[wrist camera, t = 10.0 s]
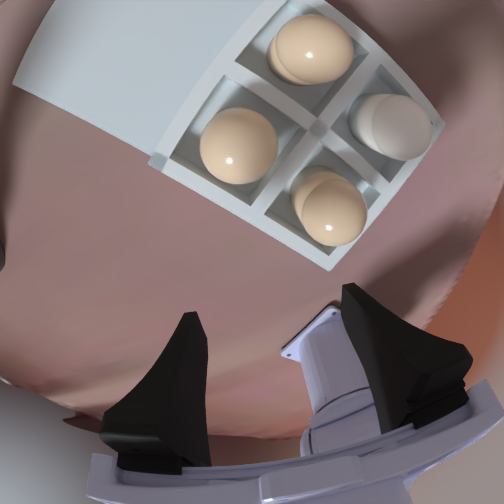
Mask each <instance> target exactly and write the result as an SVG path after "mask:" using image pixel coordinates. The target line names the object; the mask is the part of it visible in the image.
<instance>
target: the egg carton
mask: <svg viewBox="0 0 504 504" xmlns="http://www.w3.org/2000/svg"><path fill="white" fill-rule="evenodd" d="M307 14H315V15H321V16H325V17H328V18H330V19H332V20H334V21H335V22H337V23H338V24H340V25H341V26H342V27H343V28H344V29H345V30H346V32H347V33H348V35H349V36H350V38H351V41H352V44H353V50H354V53H353V60H352V63H351V65H350V67H349V68H348V70H347V71H346V72H345V73H344V74H343V75H342V76H341V77H339V78H338V79H336V80H334V81H331V82H327V83H322V84H314V85H308V86H294V85H290V84H287V83H285V82H283V81H281V80H280V79H278V78H277V77H276V76H275V75H274V74H273V73H272V71H271V70H270V68H269V66H268V63H267V59H266V52H267V47H268V45H269V43H270V41H271V40H272V39H273V37H274V36H275V35H276V34H277V32H278V31H279V30H280V29H281V27H282V26H283V25H284V24H285V23H286V22H288V21H289V20H291V19H293V18H295V17H298V16H301V15H307ZM12 84H13V85H15V86H17V87H19V88H21V89H23V90H25V91H28V92H30V93H32V94H34V95H36V96H38V97H40V98H42V99H44V100H46V101H48V102H50V103H52V104H54V105H56V106H58V107H60V108H62V109H64V110H66V111H68V112H70V113H72V114H74V115H76V116H78V117H80V118H81V119H83V120H85V121H87V122H89V123H91V124H93V125H95V126H97V127H99V128H101V129H102V130H104V131H106V132H108V133H110V134H112V135H114V136H116V137H117V138H119V139H121V140H123V141H125V142H127V143H128V144H130V145H132V146H134V147H136V148H138V149H139V150H141V151H143V152H145V153H147V154H148V155H150V156H152V157H151V158H150V160H149V162H148V165H150V166H151V167H153V168H155V169H157V170H159V171H160V172H162V173H164V174H166V175H167V176H169V177H171V178H173V179H174V180H176V181H178V182H180V183H182V184H183V185H185V186H187V187H189V188H190V189H192V190H194V191H195V192H197V193H199V194H201V195H202V196H204V197H206V198H208V199H209V200H211V201H213V202H215V203H216V204H218V205H220V206H221V207H223V208H225V209H226V210H228V211H230V212H232V213H233V214H235V215H237V216H238V217H240V218H242V219H243V220H245V221H247V222H249V223H250V224H252V225H254V226H255V227H257V228H259V229H260V230H262V231H264V232H265V233H267V234H269V235H270V236H272V237H274V238H275V239H277V240H279V241H280V242H282V243H284V244H285V245H287V246H288V247H290V248H292V249H293V250H295V251H297V252H298V253H300V254H302V255H303V256H305V257H306V258H308V259H310V260H311V261H313V262H315V263H316V264H318V265H319V266H321V267H323V268H324V269H326V270H328V271H330V270H331V269H332V268H333V267H334V266H335V265H336V264H337V263H338V261H339V260H340V259H341V258H342V257H343V256H344V255H345V254H346V252H347V251H348V250H349V249H350V248H351V247H352V246H353V244H354V243H355V242H356V241H357V240H358V239H359V238H360V236H361V235H362V234H363V233H364V232H365V230H366V229H367V228H368V227H369V226H370V225H371V223H372V222H373V221H374V220H375V219H376V217H377V216H378V215H379V214H380V212H381V211H382V210H383V209H384V208H385V206H386V205H387V204H388V203H389V201H390V200H391V199H392V198H393V196H394V195H395V194H396V193H397V191H398V190H399V189H400V187H401V186H402V185H403V184H404V182H405V181H406V180H407V178H408V177H409V176H410V174H411V173H412V172H413V170H414V169H415V168H416V166H417V165H418V164H419V162H420V161H421V160H422V158H423V157H424V156H425V154H426V153H427V151H428V150H429V149H430V147H431V146H432V145H433V143H434V142H435V140H436V139H437V137H438V136H439V135H440V133H441V132H442V130H443V129H444V127H445V126H446V123H445V122H444V120H443V119H442V118H441V116H440V115H439V113H438V112H437V111H436V109H435V108H434V107H433V105H432V104H431V103H430V102H429V100H428V99H427V98H426V96H425V95H424V94H423V93H422V92H421V90H420V89H419V88H418V87H417V86H416V84H415V83H414V82H413V81H412V80H411V79H410V77H409V76H408V75H407V74H406V73H405V72H404V71H403V70H402V69H401V67H400V66H399V65H398V64H397V63H396V62H395V61H394V60H393V59H392V58H391V57H390V56H389V55H388V54H387V53H386V52H385V51H384V50H383V49H382V48H381V47H380V46H379V45H378V44H377V43H376V42H375V41H374V40H372V39H371V38H370V37H369V36H368V35H367V34H366V33H365V32H364V31H362V30H361V29H360V28H359V27H358V26H357V25H355V24H354V23H353V22H352V21H351V20H349V19H348V18H347V17H346V16H344V15H343V14H342V13H341V12H339V11H338V10H337V9H335V8H334V7H333V6H331V5H330V4H329V3H327V2H326V1H325V0H55V2H54V3H53V5H52V6H51V8H50V9H49V11H48V12H47V14H46V16H45V17H44V19H43V21H42V22H41V24H40V26H39V28H38V29H37V31H36V33H35V35H34V37H33V39H32V41H31V43H30V45H29V47H28V49H27V51H26V53H25V55H24V57H23V59H22V61H21V64H20V66H19V68H18V70H17V73H16V75H15V78H14V80H13V83H12ZM367 93H379V94H395V95H403V96H407V97H409V98H411V99H413V100H415V101H416V102H418V103H419V104H420V105H421V106H422V107H423V108H424V109H425V111H426V112H427V114H428V116H429V118H430V121H431V124H432V138H431V142H430V145H429V147H428V148H427V150H426V151H425V152H424V153H423V154H422V155H420V156H419V157H417V158H415V159H412V160H407V161H402V160H396V159H392V158H390V157H388V156H386V155H383V154H381V153H379V152H377V151H374V150H372V149H370V148H367V147H365V146H363V145H361V144H360V143H358V142H357V141H356V140H355V138H354V137H353V136H352V134H351V132H350V129H349V126H348V112H349V109H350V106H351V105H352V103H353V102H354V100H355V99H357V98H358V97H359V96H361V95H363V94H367ZM231 107H243V108H247V109H251V110H253V111H256V112H258V113H260V114H261V115H263V116H264V117H265V118H266V119H267V120H268V121H269V122H270V123H271V124H272V126H273V127H274V129H275V131H276V134H277V137H278V143H279V148H278V155H277V158H276V161H275V163H274V165H273V166H272V168H271V169H270V170H269V171H268V173H266V174H265V175H264V176H263V177H261V178H260V179H258V180H256V181H254V182H251V183H247V184H230V183H226V182H224V181H221V180H219V179H218V178H216V177H215V176H213V175H212V174H211V173H210V172H209V171H208V169H207V168H206V167H205V165H204V163H203V161H202V158H201V155H200V138H201V135H202V132H203V130H204V128H205V126H206V125H207V124H208V122H209V121H210V120H211V119H212V118H213V117H214V116H215V115H216V114H217V113H219V112H220V111H222V110H224V109H227V108H231ZM315 165H322V166H327V167H329V168H331V169H333V170H334V171H336V172H337V173H338V174H340V175H341V176H342V177H344V178H345V179H346V180H348V181H349V182H350V183H352V184H353V185H354V186H355V187H356V188H357V189H358V190H359V191H360V192H361V193H362V195H363V197H364V199H365V201H366V204H367V212H368V214H367V222H366V225H365V227H364V229H363V231H362V232H361V234H360V235H359V236H358V237H357V238H356V239H355V240H353V241H352V242H350V243H348V244H346V245H342V246H327V245H324V244H321V243H319V242H317V241H316V240H314V239H313V238H312V237H311V236H310V235H309V234H308V232H307V231H306V230H305V228H304V226H303V224H302V223H301V221H300V219H299V217H298V216H297V214H296V212H295V210H294V209H293V207H292V205H291V202H290V198H289V191H290V186H291V184H292V182H293V180H294V178H295V177H296V176H297V174H299V173H300V172H301V171H302V170H304V169H306V168H308V167H310V166H315Z"/></svg>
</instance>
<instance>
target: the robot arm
mask: <svg viewBox="0 0 504 504" xmlns="http://www.w3.org/2000/svg"><path fill="white" fill-rule="evenodd" d="M333 312H334V313H333ZM280 353H281V356H283V357H286V358H289V359H292V360H295V361H298V362H301V365H302V369H303V373H304V377H305V381H306V385H307V389H308V393H309V397H310V401H311V405H312V409H313V413H314V416H311V417H309V422H310V426H311V427H309V428H307V429H305V431H304V433H303V436H302V438H301V441H300V451H301V457H297V458H292V459H286V460H279V461H273V462H265V463H257V464H248V465H236V466H220V467H212V465H211V458H210V452H209V444H208V435H207V424H206V408H205V392H206V378H207V365H208V345H207V337H206V335H205V332H204V330H203V327H202V325H201V322H200V319H199V317H198V314H197V312H196V311H194V312H187V313H184V314H183V316H182V318H181V320H180V322H179V324H178V326H177V328H176V329H175V331H174V333H173V335H172V337H171V338H170V340H169V342H168V344H167V345H166V347H165V349H164V350H163V352H162V353H161V355H160V356H159V358H158V359H157V361H156V362H155V364H154V365H153V366H152V368H151V369H150V370H149V372H148V373H147V374H146V375H145V376H144V378H143V379H142V380H141V381H140V382H139V383H138V384H137V385H136V386H135V387H134V388H133V389H132V390H131V391H130V392H129V393H128V394H127V395H126V396H125V397H124V398H123V399H121V400H120V401H119V402H118V403H116V404H115V405H114V406H112V407H111V408H110V409H108V410H107V411H106V412H105V413H104V416H103V419H102V424H101V429H100V434H99V437H100V439H101V440H102V441H103V442H104V443H105V444H107V445H108V446H109V447H111V448H112V449H114V450H115V451H117V452H118V458H116V457H113V456H108V455H103V454H97V453H93V454H92V458H91V464H90V470H89V477H88V484H87V491H86V495H87V496H88V497H90V498H93V499H96V500H98V501H101V502H104V503H107V504H413V503H412V500H411V497H410V494H409V491H408V490H409V488H410V487H411V485H412V484H413V483H414V482H415V480H416V479H417V477H418V476H419V475H420V473H422V472H424V471H426V470H428V469H430V468H432V467H434V466H436V465H437V464H439V463H441V462H443V461H445V460H446V459H448V458H450V457H451V456H453V455H455V454H456V453H458V452H460V451H461V450H463V449H465V448H466V447H468V446H469V445H471V444H472V443H474V442H475V441H477V440H478V439H480V438H481V437H482V436H484V435H485V434H486V433H487V432H489V431H490V430H491V429H492V428H493V427H494V426H495V425H496V424H498V422H500V421H501V420H502V419H503V418H504V409H503V407H502V406H501V404H500V402H499V400H498V398H497V396H496V395H495V393H494V391H493V389H492V388H491V386H490V384H489V383H488V381H487V379H484V380H483V381H481V382H480V383H478V384H476V385H474V386H473V387H471V388H470V389H469V390H467V391H465V389H464V388H463V387H465V382H464V381H463V378H464V376H465V375H466V374H467V372H468V371H469V369H470V367H471V365H472V362H473V358H472V356H471V355H470V353H469V351H468V350H467V349H466V347H465V346H464V345H463V344H459V343H456V342H452V341H448V340H445V339H443V338H440V337H437V336H434V335H432V334H429V333H427V332H425V331H423V330H421V329H419V328H417V327H415V326H413V325H411V324H409V323H408V322H406V321H404V320H402V319H401V318H399V317H398V316H396V315H395V314H393V313H392V312H390V311H389V310H388V309H386V308H385V307H384V306H382V305H381V304H380V303H378V302H377V301H376V300H375V299H373V298H372V297H371V296H370V295H368V294H367V293H366V292H365V291H364V290H362V289H361V288H360V287H359V286H357V285H356V284H355V283H349V284H345V285H342V301H341V310H340V309H338V308H336V307H334V306H328V307H327V308H326V309H325V310H324V311H323V312H322V313H321V314H320V315H319V316H318V317H317V318H316V319H314V320H313V321H312V322H311V323H310V324H309V325H308V326H307V327H306V328H305V329H304V330H303V331H302V332H301V333H300V334H299V335H298V336H297V337H295V338H294V339H293V340H292V341H291V342H290V343H289V344H288V345H287V346H286V347H285V348H283V349H282V350H281V352H280Z"/></svg>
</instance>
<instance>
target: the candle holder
mask: <svg viewBox="0 0 504 504" xmlns="http://www.w3.org/2000/svg"><path fill="white" fill-rule="evenodd" d="M4 265H5V255H4V251H3V247H2V245H1V242H0V271H1V270H2V269H3V267H4Z"/></svg>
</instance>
